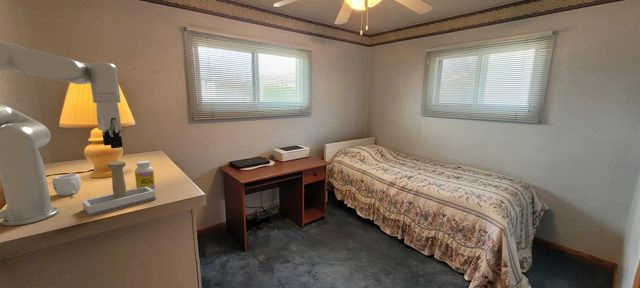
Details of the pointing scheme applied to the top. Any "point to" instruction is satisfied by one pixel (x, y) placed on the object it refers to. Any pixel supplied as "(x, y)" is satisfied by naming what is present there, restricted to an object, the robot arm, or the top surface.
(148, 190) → the track
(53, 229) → the top surface
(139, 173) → the supplement bottle
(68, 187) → the mug
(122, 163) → the handle
